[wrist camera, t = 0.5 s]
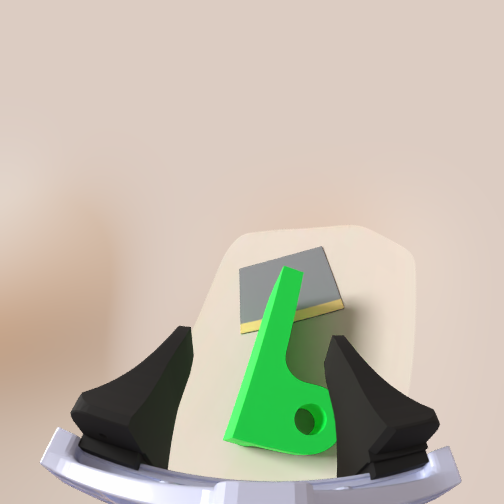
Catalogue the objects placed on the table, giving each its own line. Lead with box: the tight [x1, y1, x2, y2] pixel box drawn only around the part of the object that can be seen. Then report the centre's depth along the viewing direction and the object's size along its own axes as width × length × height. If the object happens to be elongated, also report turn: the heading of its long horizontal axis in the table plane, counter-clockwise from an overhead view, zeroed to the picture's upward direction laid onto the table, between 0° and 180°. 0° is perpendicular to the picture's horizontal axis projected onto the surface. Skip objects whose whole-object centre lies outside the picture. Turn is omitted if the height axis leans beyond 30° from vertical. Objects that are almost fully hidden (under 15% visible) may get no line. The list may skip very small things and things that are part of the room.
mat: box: [239, 246, 344, 334], centre depth 40 cm, size 13×14×1 cm
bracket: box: [223, 266, 337, 455], centre depth 28 cm, size 20×10×7 cm
